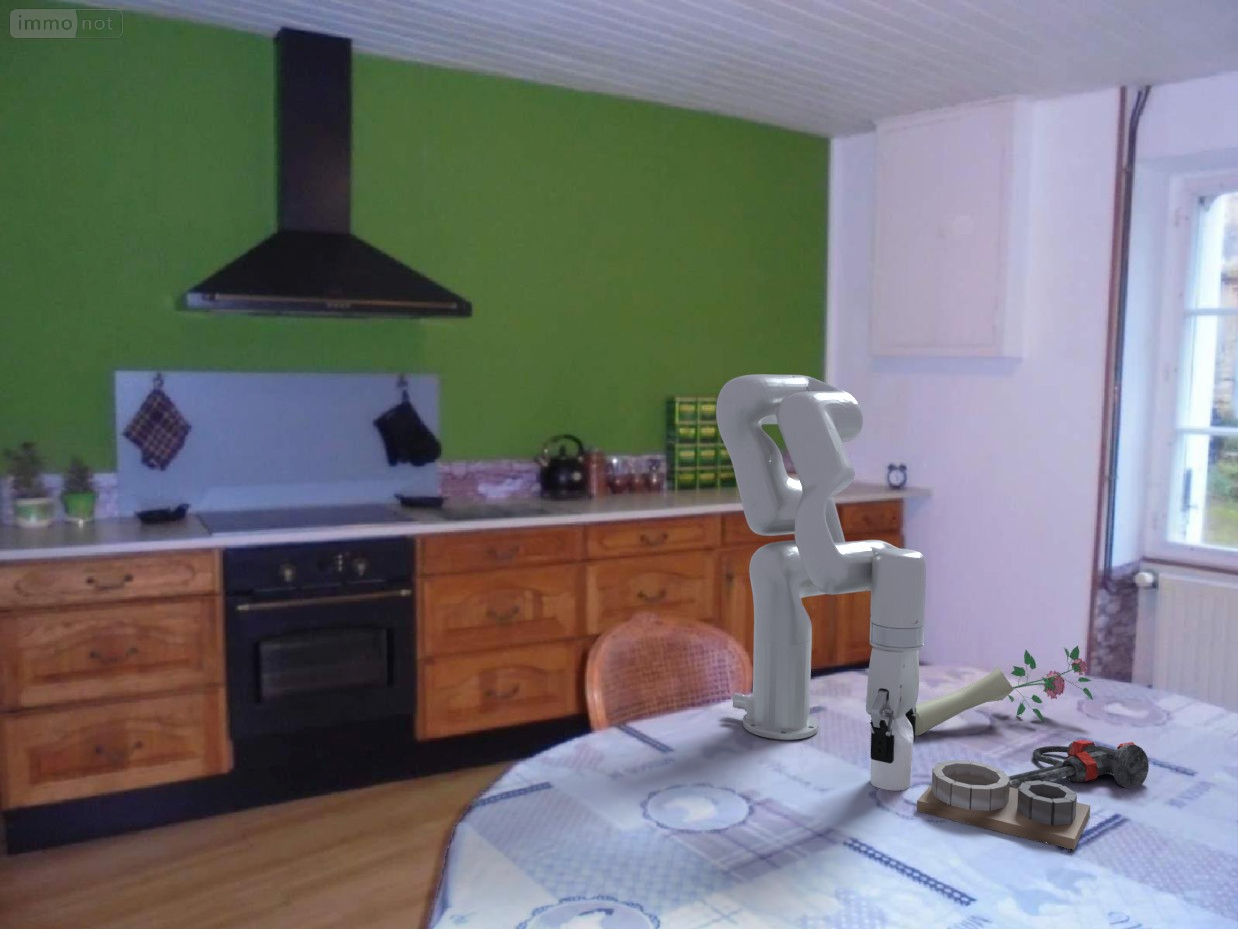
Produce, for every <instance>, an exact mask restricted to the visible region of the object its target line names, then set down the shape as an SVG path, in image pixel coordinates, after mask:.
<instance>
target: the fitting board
mask: <svg viewBox="0 0 1238 929" xmlns="http://www.w3.org/2000/svg"><path fill="white" fill-rule="evenodd" d="M931 772H932V774H931V784H930V785H929V787H928V788H927V789H926V790H925V791H923V793H922V794H921V796H919V798H918V799H917V800H916V801H917V802H916V812H919V813H924V814H928V815H932V816H934V817H940V818H943V819H947V820H950V821H951V820H952V821H955V822H959V823H964V824H966V825H967V824H968V825H971V826H975V827H979V828H983V829H987V830H992V831H994V832H995V831H996V832H1000V833H1003V834H1007V835H1010V836H1011V835H1012V836H1014V835H1015V837H1018V836H1019V838H1023V839H1026V838H1027V840H1030V839H1032V840H1031V841H1034V840H1036V841H1035V842H1038V841H1039V843H1042V842H1047V843H1048V844H1047V845H1050V844H1053V845H1052V846H1054V845H1058V846H1061V847H1060V848H1062V847H1064V848H1063V849H1066V848H1067V850H1070V849H1072V850H1071V851H1075V849H1076V847H1077V844H1078V843H1077V842H1079V841H1080V838H1081V836H1082V834H1083V831H1084V829H1085V827H1086V825H1087V823H1088V820H1089V818H1090V814H1091V805H1089V804H1085V803H1081V802H1077V799H1078V794H1077V792H1075V791H1073V790H1072V789H1070V788H1069V787H1067V786H1066V785H1063V784H1059V783H1056V782H1052V781H1051V782H1050V781H1043V782H1042V781H1040V780H1039V781H1026V782H1024V783H1023V782H1022V783H1021V785H1020V787H1019V788H1018V789H1016V788H1011V787H1010V778H1009V777H1008V776H1009V775H1008V774H1007V773H1006V772H1005V771H1004V770H1002V769H1000V768H997V767H996V766H993V765H990V764H987V763H982V762H978V761H974V760H963V759H962V760H959V759H957V760H956V759H952V760H945V761H941V762H938V763H936V765H934V766H933V768H932V771H931ZM1058 846H1057V847H1058Z"/></svg>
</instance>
